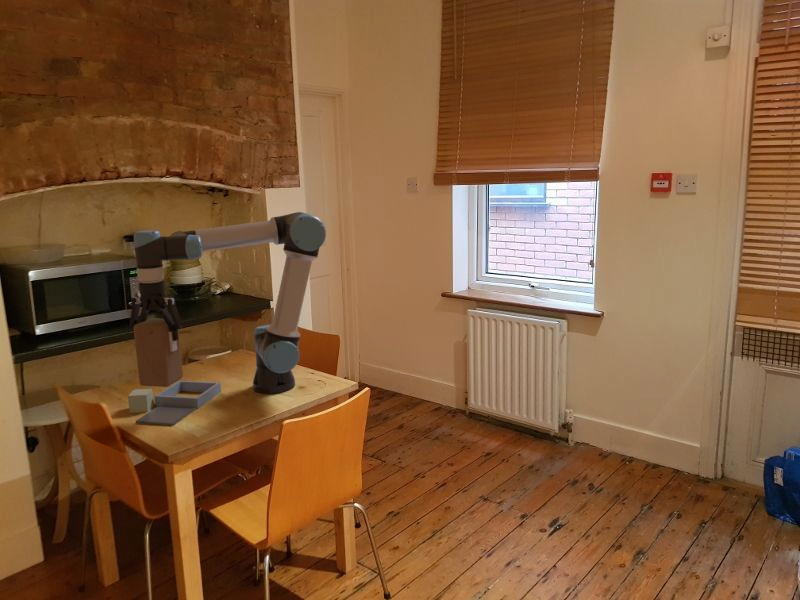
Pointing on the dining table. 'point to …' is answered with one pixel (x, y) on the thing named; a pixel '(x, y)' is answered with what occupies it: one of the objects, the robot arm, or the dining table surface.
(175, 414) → the plate
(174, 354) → the wooden block
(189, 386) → the blue square frame
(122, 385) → the dining table surface
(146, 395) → the sage cube
